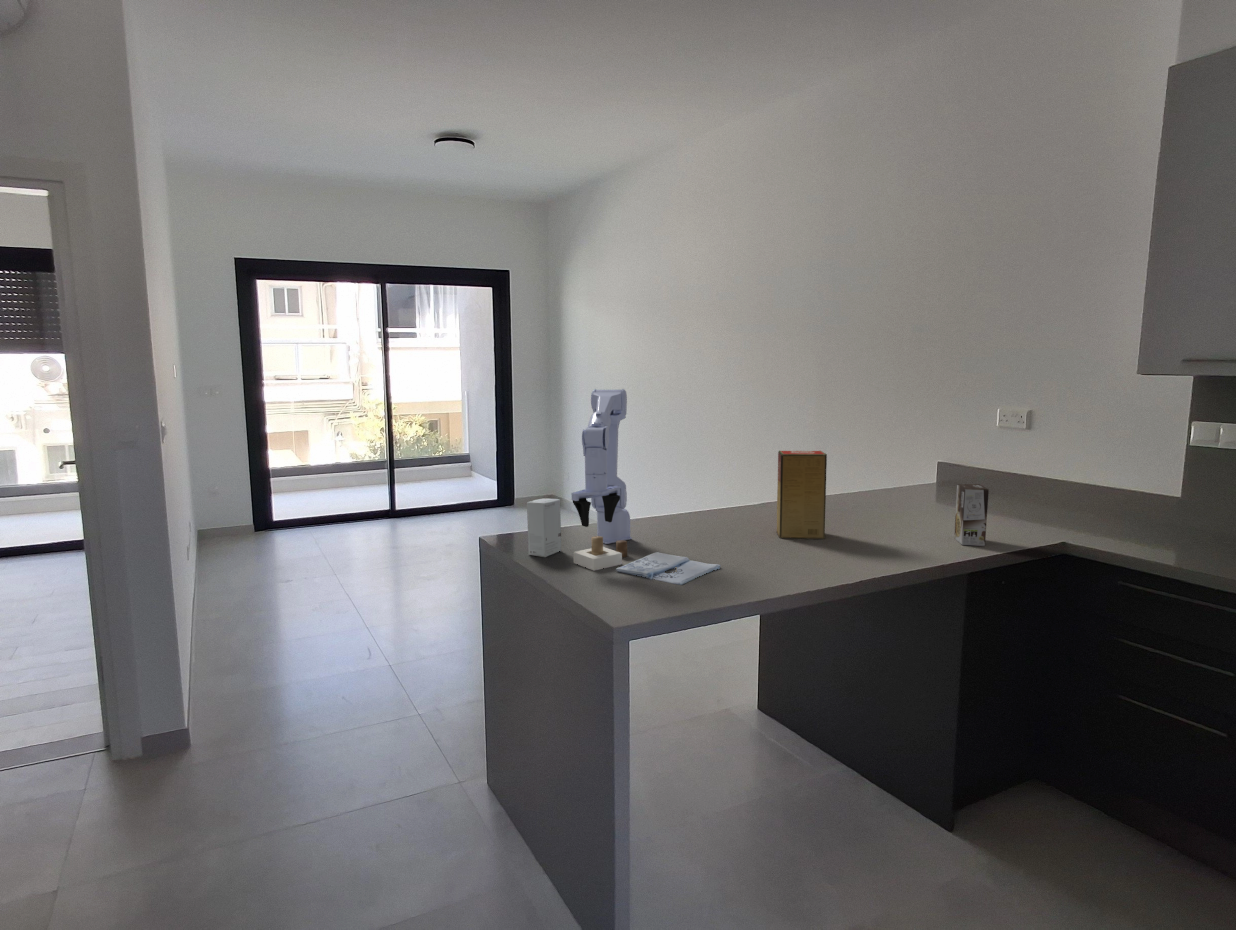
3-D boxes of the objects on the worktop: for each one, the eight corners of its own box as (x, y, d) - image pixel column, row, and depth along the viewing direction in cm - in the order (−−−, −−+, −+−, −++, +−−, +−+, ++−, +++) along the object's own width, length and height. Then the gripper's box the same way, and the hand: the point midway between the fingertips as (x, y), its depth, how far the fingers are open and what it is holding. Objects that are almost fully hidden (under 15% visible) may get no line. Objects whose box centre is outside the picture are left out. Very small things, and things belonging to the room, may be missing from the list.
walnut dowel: (622, 553, 202) (622, 539, 201) (629, 556, 200) (629, 541, 199) (613, 555, 200) (613, 541, 200) (620, 558, 198) (620, 543, 197)
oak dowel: (599, 561, 195) (598, 535, 194) (605, 564, 192) (605, 537, 191) (589, 563, 193) (589, 537, 192) (595, 566, 190) (595, 539, 189)
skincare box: (545, 558, 199) (543, 503, 196) (527, 555, 202) (525, 501, 199) (562, 550, 206) (561, 498, 204) (544, 548, 209) (543, 496, 207)
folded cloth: (658, 557, 200) (658, 549, 200) (723, 570, 187) (723, 562, 187) (613, 574, 185) (613, 565, 185) (680, 589, 173) (680, 580, 172)
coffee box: (986, 546, 205) (989, 489, 203) (961, 545, 207) (964, 488, 204) (977, 538, 214) (980, 483, 212) (953, 537, 215) (956, 483, 213)
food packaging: (820, 531, 224) (822, 450, 221) (825, 539, 215) (828, 454, 212) (775, 531, 226) (777, 449, 222) (779, 538, 217) (780, 454, 213)
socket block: (601, 557, 199) (601, 546, 198) (622, 564, 192) (621, 553, 191) (573, 563, 193) (573, 551, 193) (593, 570, 186) (593, 559, 186)
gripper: (582, 478, 185) (583, 531, 187) (627, 471, 194) (627, 522, 196) (566, 474, 191) (567, 526, 193) (611, 468, 200) (611, 517, 202)
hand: (596, 523), depth 195 cm, fingers open, 7 cm apart
